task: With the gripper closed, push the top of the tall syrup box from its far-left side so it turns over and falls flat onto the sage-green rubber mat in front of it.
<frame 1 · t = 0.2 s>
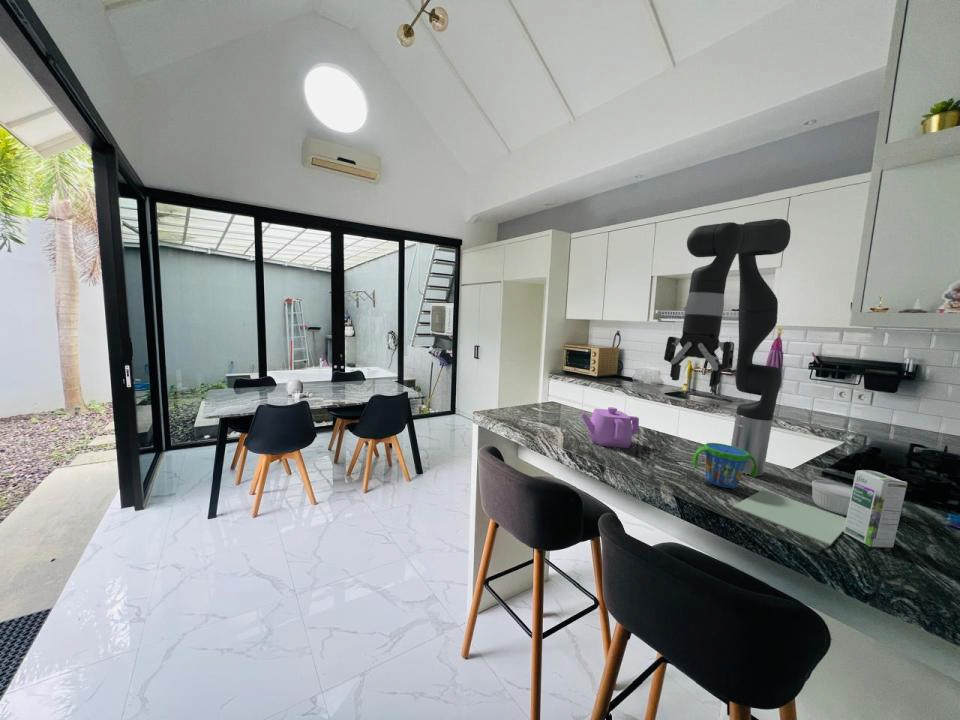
hand: (693, 383, 91), 29 cm above the kitchen island, fingers open, 8 cm apart
mat: (791, 514, 93), on the kitchen island
ramekin: (836, 509, 99), on the kitchen island
snack cup: (721, 484, 109), on the kitchen island
teakettle: (606, 441, 141), on the kitchen island
syrup box: (867, 541, 83), on the kitchen island
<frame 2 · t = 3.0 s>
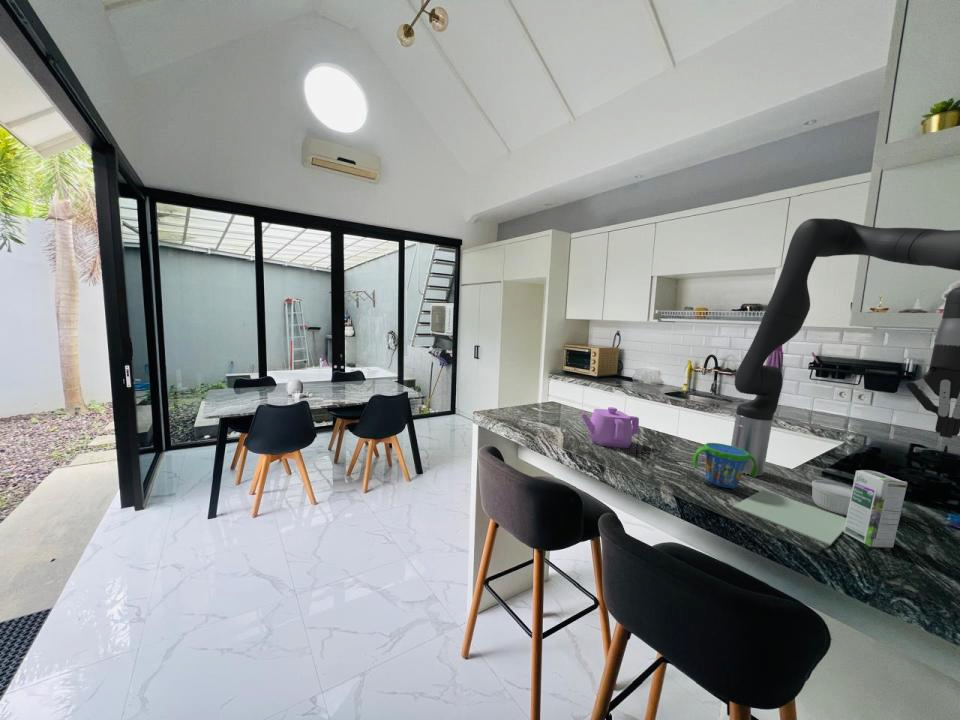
hand: (945, 436, 73), 25 cm above the kitchen island, fingers closed
nothing on the kitchen island moved.
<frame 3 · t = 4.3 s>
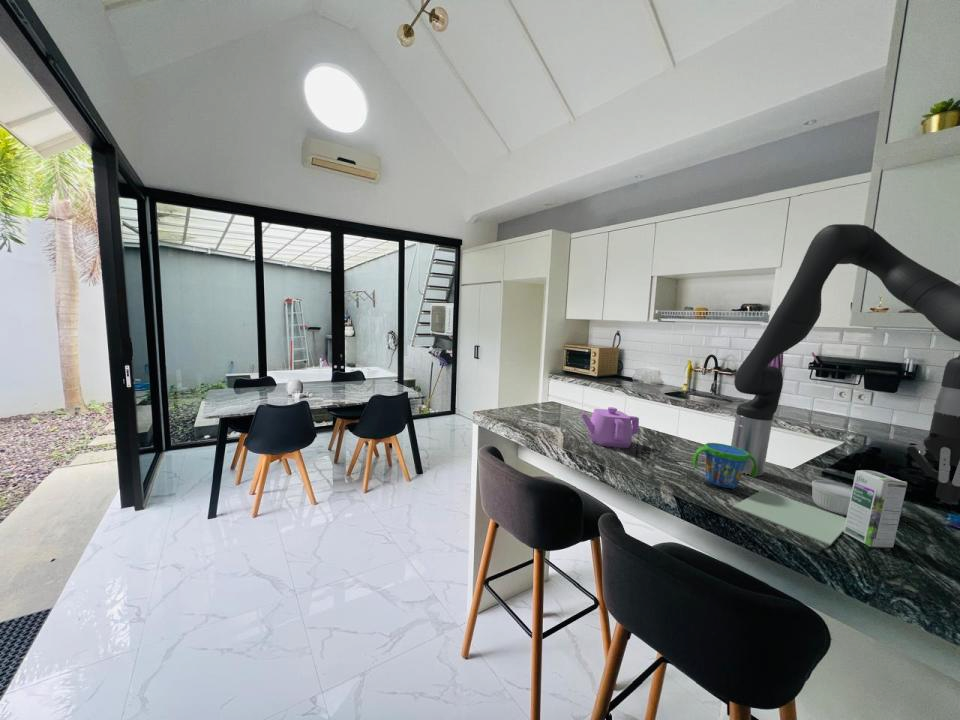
hand: (945, 502, 74), 13 cm above the kitchen island, fingers closed
nothing on the kitchen island moved.
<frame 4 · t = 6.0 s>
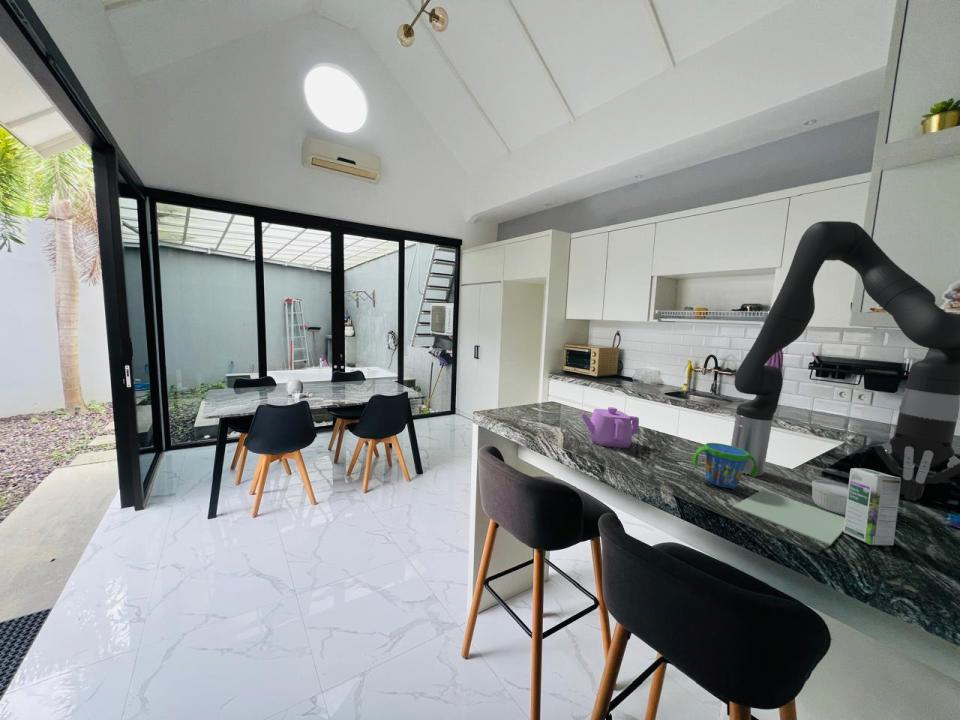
hand: (910, 498, 78), 11 cm above the kitchen island, fingers closed
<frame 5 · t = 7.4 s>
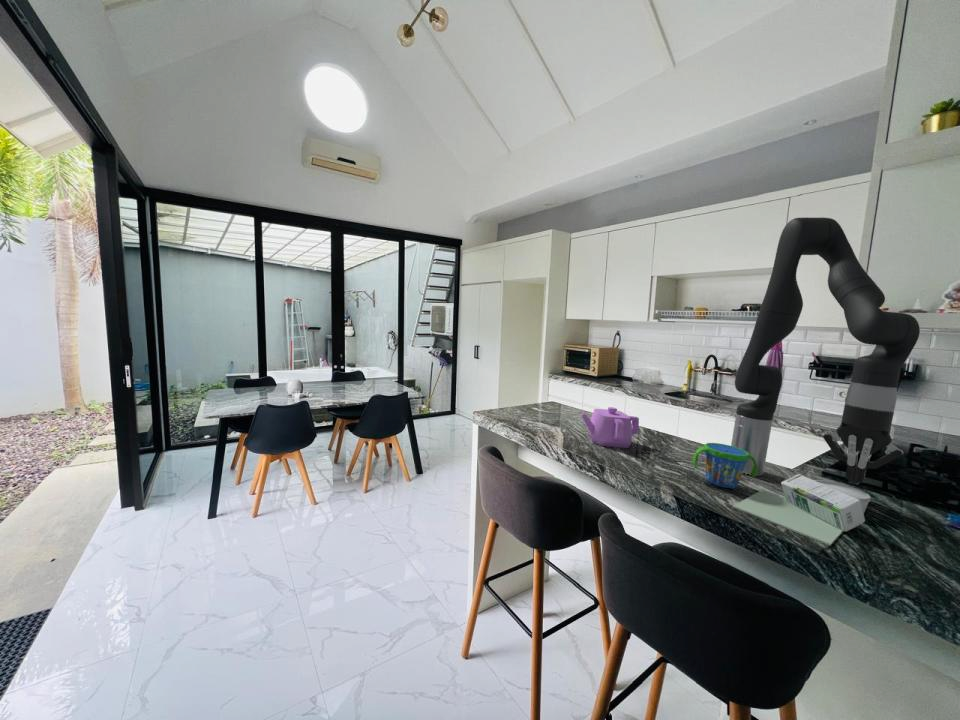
hand: (853, 482, 85), 11 cm above the kitchen island, fingers closed
syrup box: (854, 516, 85), point 4 cm above the kitchen island, touching mat
everything else where it was.
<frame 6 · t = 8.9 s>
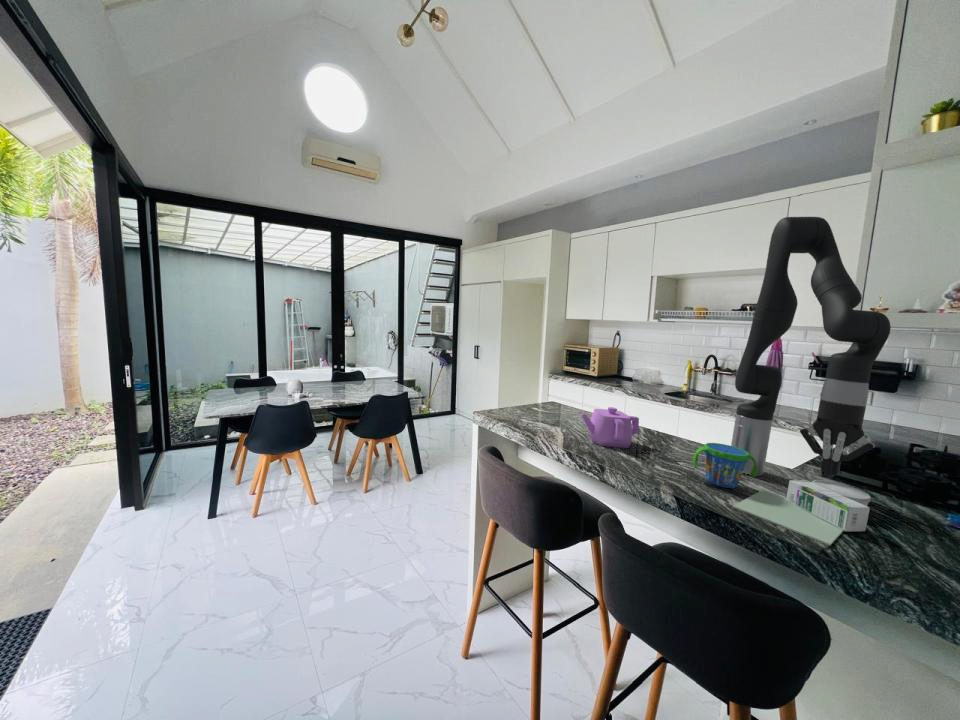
hand: (828, 475, 88), 11 cm above the kitchen island, fingers closed
syrup box: (859, 520, 85), point 3 cm above the kitchen island, touching mat
everything else where it was.
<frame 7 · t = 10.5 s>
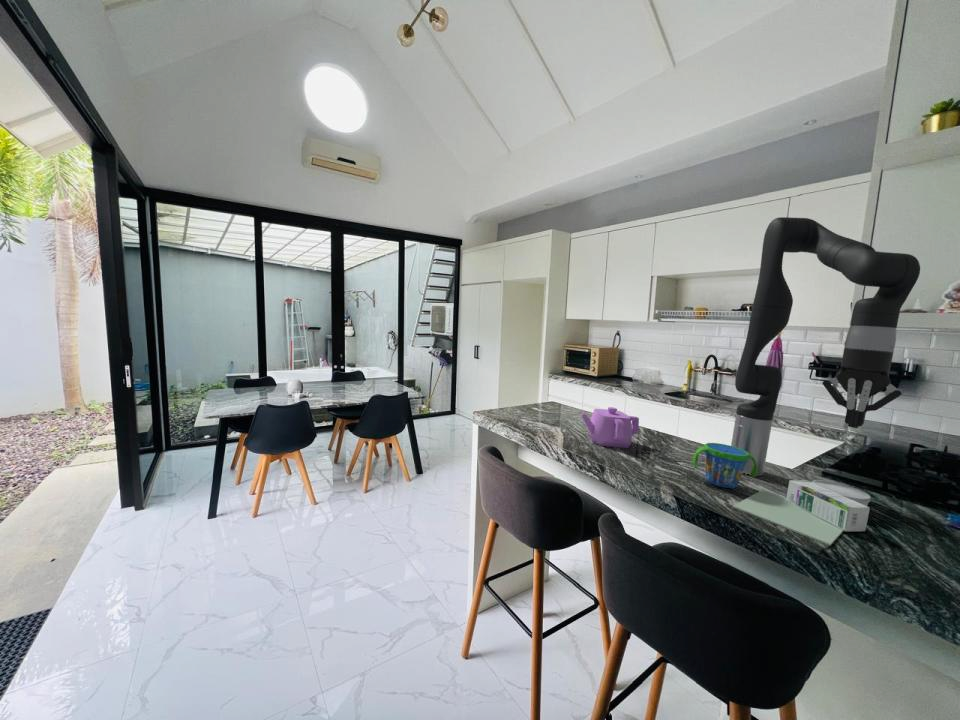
hand: (853, 427, 85), 23 cm above the kitchen island, fingers closed
nothing on the kitchen island moved.
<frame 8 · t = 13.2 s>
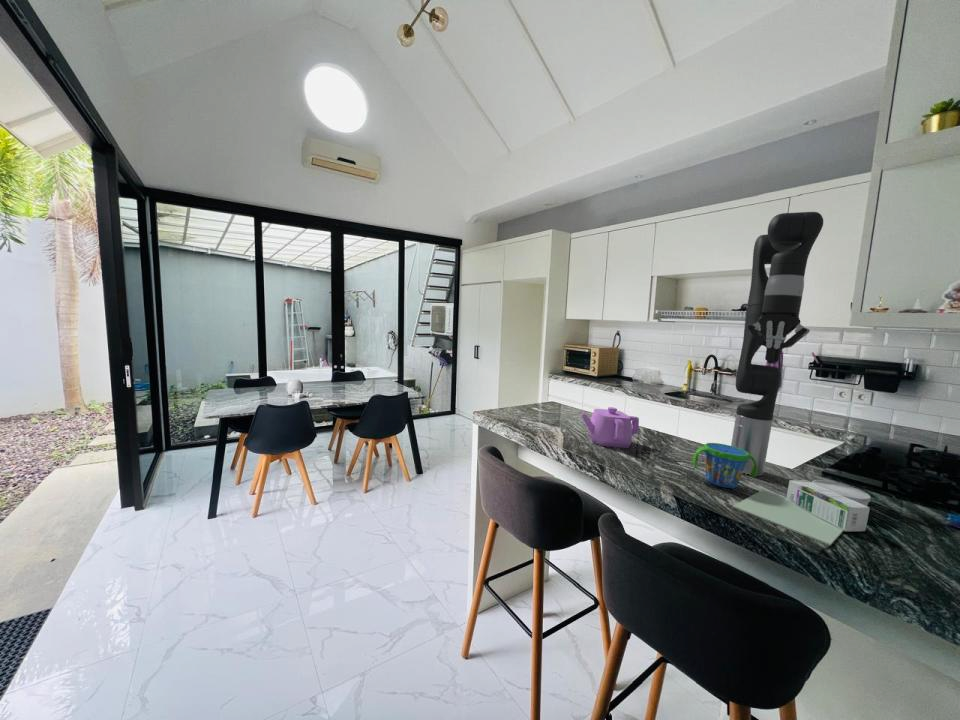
hand: (771, 363, 99), 35 cm above the kitchen island, fingers closed
nothing on the kitchen island moved.
at the end: syrup box tilted 90°; syrup box inside the target area (9.4 cm from its centre), point 3.2 cm above the kitchen island; the gripper is holding nothing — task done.
